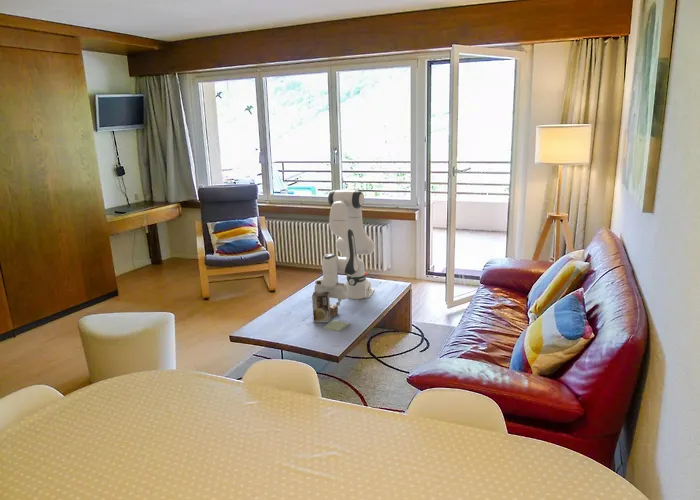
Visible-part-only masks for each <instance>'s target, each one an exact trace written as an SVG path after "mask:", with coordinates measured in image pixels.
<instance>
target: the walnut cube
mask: <svg viewBox="0 0 700 500" xmlns="http://www.w3.org/2000/svg"><path fill="white" fill-rule="evenodd" d="M338 308H339V306H337V304H331V303H330V317H335V316H336V315H338V314H339V309H338Z"/></svg>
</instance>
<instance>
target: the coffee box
mask: <svg viewBox="0 0 700 500" xmlns="http://www.w3.org/2000/svg"><path fill="white" fill-rule="evenodd" d="M311 301H312V316H313V322H314V323H330V322H331V316H330V304H331V303H330V297H329V292H315V291H313V293H312V295H311Z"/></svg>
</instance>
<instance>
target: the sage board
mask: <svg viewBox="0 0 700 500" xmlns="http://www.w3.org/2000/svg"><path fill="white" fill-rule="evenodd" d="M349 325H350V322H347V321H341V320H335V319H333V320H330V321H329V322H327V324H326V325H324V326H323V330H326V331H333V332H337V333H339V332H341V331H343V330H344V329H345V328H347V327H348V326H349Z"/></svg>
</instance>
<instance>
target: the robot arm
mask: <svg viewBox="0 0 700 500" xmlns="http://www.w3.org/2000/svg"><path fill="white" fill-rule="evenodd" d="M327 196H328V197H327V202H328V205H329V206H330V210H329V218H328V219H329V220H328V221H329V223H328V226H329V230H330V231H331V233H332V234H333V235H335V237H338V238H337V239H336V242H335V248H336V249H337V251H338V252H339V253H340V254H341V255H342V256H340V255H337V254H336V253H333V252H329V253H325V254H324V255H323V257H322V263H321V264H322V265H321V267H322V268H321V269H322V277H321V278H320V277H319V278H318V279H316V280H315V281H314V284H315V286H314V292H329V299H330V298H331V299H337V302H335V303H336V304H335V305H337V306H338V307H339V306H340V305H341V302H342V300H346V299H347V298H348V299H353V300H359V299H360V300H361V299H367V298H370V297H371V296H372V294H374V292H375V288H374V287H372V284H371V282H370V280H368V279H367V278H366V277H367V276H368V272H365V262H364V261H363V259H362V258H360V257H359V256H358V255H363V256H365V255H366V256H367V255H371V254H372V253H374V251H375V246H376V245H375V242H374V240H373V239H372V238H371V237H369V235H368V234H367V232H366V230H365V227H364V222H363V212H362V206H363V205H364V202H365V196H364V193H363V192H362V191H360V190H357V189H356V190H354V189H334V190H331V191H330V192H329V193H328V195H327ZM338 274H344V275H346V281H345V283H344V282H342V283H341V282H339V275H338Z"/></svg>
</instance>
